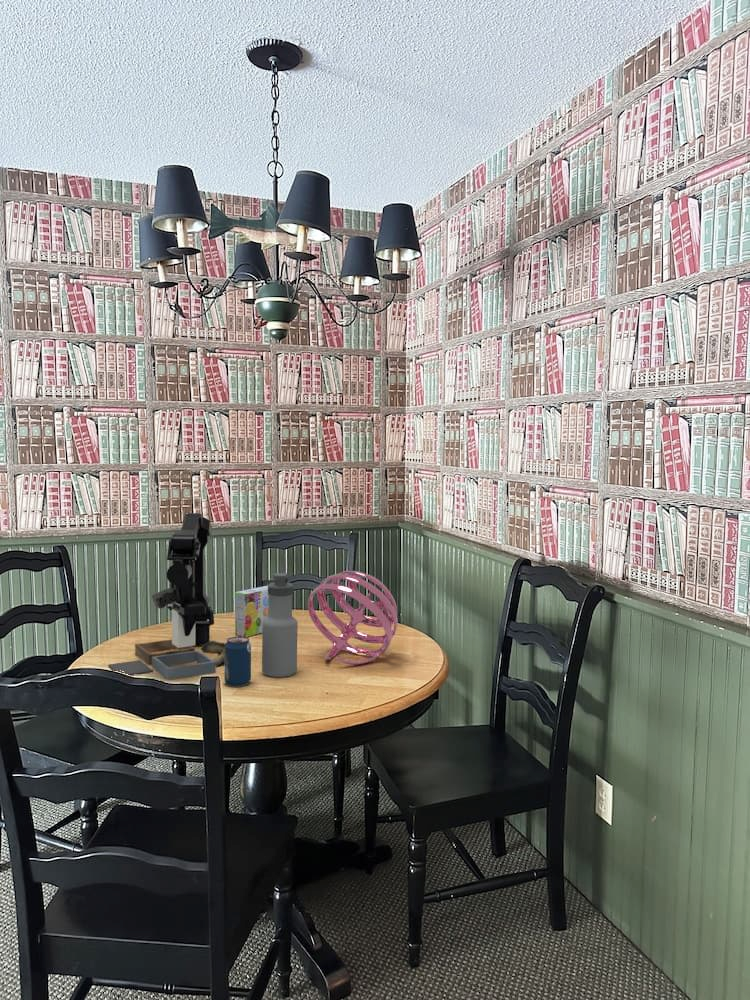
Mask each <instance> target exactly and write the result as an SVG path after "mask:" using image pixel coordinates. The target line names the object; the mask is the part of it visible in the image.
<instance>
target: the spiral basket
mask: <svg viewBox="0 0 750 1000" xmlns="http://www.w3.org/2000/svg"><path fill="white" fill-rule="evenodd" d="M362 578H365V579H367V581H366V580H365V579H362ZM330 580H331V583H327V582H328V581H330ZM340 580H346V581H347V585H343V584H340ZM368 580H370V581H371V582H373V583H374V584H376V585H377V586H378V587H379V588H380V589H382V591H383V592H384V593H383V592H382V591H381V590H379V589H378V588H377V587H376V586H375V585H373V584H371V583H370V582H368ZM357 585H359V586H361V587H363V588H365V589H367V590H368V591H369V592H368V594H367V595H364V594H363V593H361V592H360V591H359V590H358V587H357ZM325 591H326V592H331V594H332V595H333V598H334V600H335V601H336V603H337V604H338V606H339V607H340V608H341V610H343V611H344V613H346V614H347V615H348V616H349V618H350V620H349V622H348V623H346V622H344V621H343V620H342V619H340V618H339V617H338V616H337V615H336V613H334V611H333V610H332V608H331V607H330V606H329V604H328V603H327V600H326V596H325ZM371 593H372V594H373V595H374V596H376V597H377V598H378V599H379V601H374V600H371V599H370V596H371ZM315 594H316V596H317V602H318V605H319V607H320V609H321V610H322V612H323V614H324V616H325V617H326V618H327V619H328V620H329V621H330V622H331V623H332V624H333V625H334V626H335V627H336V628H338V629H339V630H340V632H341V634H340V635H339V636H336V635H335V634H333V633H332V632H331V631H330V630H329V629H328V628H327V627H326V625H324V624H323V623H322V621H321V620H320V618H319V617H318V616H317V613H316V611H315V609H314V606H313V597H314V596H315ZM342 594H343V595H346V596H348V597H350V598H351V599H354V600H356V601H357V602H359V607H358V608H357V609H356V608H354V607H352V606H351V605H350V604H349V603H348V601H347V600H346V599H345V598H344V596H343V595H342ZM366 608H367V609H368V610H369V611H370V612H371V613H372V614H373V615H374V617H376V618H374V617H370V616H368V615H365V614H364V611H365V609H366ZM307 610H308V611H307V612H308V613H309V617H310V619H311V621H312V622H313V624H314V625H315V627H316V628H317V630H318V631H319V632H320V633H321V634H322V635H323V636H324V637H325V639H327V640H328V641H330V642H331V643H332V647H331V649H330V650H329V651H328V653H327V654H326V655H325V656H324V658H325V659H326V660H327V661H331V660H332V659H333V658H335V660H337V661H338V662H340V663H344V664H347V665H351V666H360V665H359V664H362V665H366V664H369V663H370V662H373V661H375V660H376V659H377V658H378V657H380V656H381V655H382V654H383V653H385V652H386V651H387V649H388V648H389V647H390V645H391V643H392V640H393V637H394V636H395V634H396V633H397V629H398V607H397V603H396V601H395V598H394V597H393V594H392V593H391V591H390V590H389V589H388V588H387V587H386V585H385V584H384V583H383V582H382V581H381V580H379V579H378V578H377V577H375V576H373V575H371V574H368V573H366V572H365V573H364V572H361V571H357V570H345V571H344V570H343V571H341V572H339V573H335V574H332V575H329V576H328V577H326V578H325V579H323V580H322V581H321V582H320V583H319V585H318V586H317V587H315V588H314V589H313V591H311V592H310V594H309V597H308V600H307ZM383 611H384V612H383ZM358 624H364V625H366V626H368V627H373V628H383V630H384V632H385V633H384V634H383V635H371V634H366V633H364V632H361V631H359V630H357V625H358ZM392 626H393V629H392ZM350 638H352V639H355V640H358V641H361V642H364V643H368V644H382V645H381V646H380V647H379V648H378V649H376V650H375V649H374V650H370V649H363V648H359V647H356V646H354V645H351V644H350V643H348V642H349V640H350ZM340 651H345V652H348V653H350V652H355V653H363V654H366V655H369V656H368V657H370V658H368V659H365V660H362V661H361V660H359V661H353V660H352V661H351V660H348V659H344V658H342V657H339V656H335V657H333V656H334V655H335V654H337V655H338V654H339V652H340ZM332 657H333V658H332ZM331 658H332V659H331ZM368 662H369V663H368ZM365 663H366V664H365Z"/></svg>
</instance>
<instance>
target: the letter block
mask: <svg viewBox="0 0 750 1000" xmlns="http://www.w3.org/2000/svg"><path fill="white" fill-rule="evenodd" d="M178 613H180V608H175V609H172V611H171V640H172V644H173V645H174V646H176V647H177V648H180V647H188V646H192V647H196V646H195V624H194V626H193V628H192V630H191V633H190V635H189V636H185V633H184V627H183V620H182V617H181V616H180V615H179V614H178Z"/></svg>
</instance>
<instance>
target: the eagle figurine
mask: <svg viewBox="0 0 750 1000" xmlns="http://www.w3.org/2000/svg"><path fill="white" fill-rule="evenodd" d="M225 644H226V642H219V641H218V642H217V641H214V640H210V642H207V643H205V644H204V645H201V648H200V650H201V651H202V653H203V654H212V655H213V654H216V655H217V656H216V657H213V659H212V660H214V661H215V662H216V667H217V666H219V665H221V664H222V663H224V662H225Z"/></svg>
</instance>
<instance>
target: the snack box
mask: <svg viewBox="0 0 750 1000" xmlns="http://www.w3.org/2000/svg"><path fill="white" fill-rule="evenodd" d="M234 605H235V607H234V611H235V612H234V614H235V617H234V618H235V620H234V621H235V623H234V624H235V628H234V629H235V636H236V635H240V636H239V637H242V636H243V637H247V638H249V637H248V636H250V637H252V636H251V635H253V636H256V635H255V634H257V635H260V634H259V633H261V634H262V625H263V621H264V619H265V618H267V617H268V610H269V596H268V585H265V586H258V587H253V588H250V589H244V590H239V591H235V592H234Z"/></svg>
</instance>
